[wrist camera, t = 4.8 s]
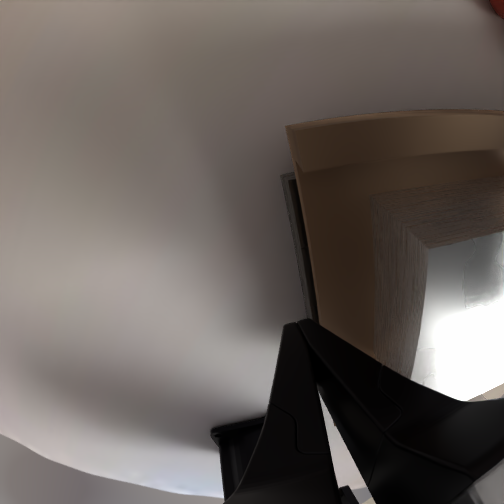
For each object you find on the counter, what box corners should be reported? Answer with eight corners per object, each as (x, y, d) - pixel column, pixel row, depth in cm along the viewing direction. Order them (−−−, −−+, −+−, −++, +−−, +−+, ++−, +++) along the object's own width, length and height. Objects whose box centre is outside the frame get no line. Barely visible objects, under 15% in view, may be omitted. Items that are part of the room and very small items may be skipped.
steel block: (373, 351, 12) (398, 425, 8) (369, 194, 9) (428, 249, 5) (494, 312, 11) (533, 365, 7) (515, 174, 8) (583, 208, 4)
